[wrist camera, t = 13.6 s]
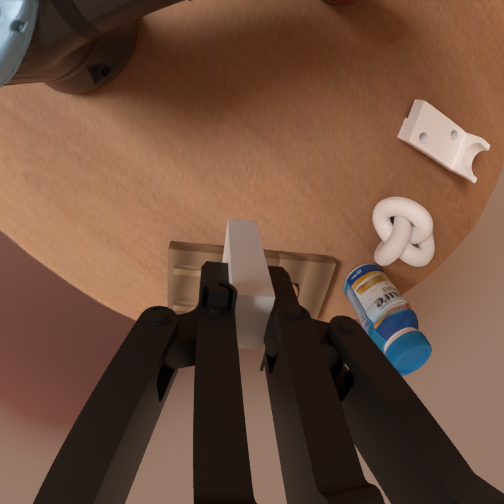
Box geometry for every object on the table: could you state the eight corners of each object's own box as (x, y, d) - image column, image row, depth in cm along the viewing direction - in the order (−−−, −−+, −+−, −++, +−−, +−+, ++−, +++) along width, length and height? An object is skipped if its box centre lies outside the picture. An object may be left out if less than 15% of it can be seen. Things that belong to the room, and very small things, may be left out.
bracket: (461, 135, 40) (490, 145, 34) (447, 169, 43) (475, 183, 37) (411, 98, 37) (441, 103, 31) (396, 137, 40) (424, 147, 34)
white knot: (428, 196, 46) (459, 217, 38) (406, 256, 51) (431, 283, 44) (377, 183, 44) (406, 204, 36) (356, 250, 49) (378, 280, 42)
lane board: (169, 306, 52) (167, 320, 48) (170, 241, 45) (167, 253, 42) (311, 315, 56) (316, 328, 52) (331, 256, 49) (338, 268, 46)
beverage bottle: (334, 295, 54) (375, 381, 37) (354, 256, 50) (409, 338, 33) (370, 301, 56) (415, 379, 38) (390, 266, 52) (447, 340, 35)
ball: (272, 298, 51) (286, 309, 49) (275, 282, 49) (291, 293, 47) (285, 291, 53) (299, 301, 51) (289, 275, 51) (304, 285, 49)
